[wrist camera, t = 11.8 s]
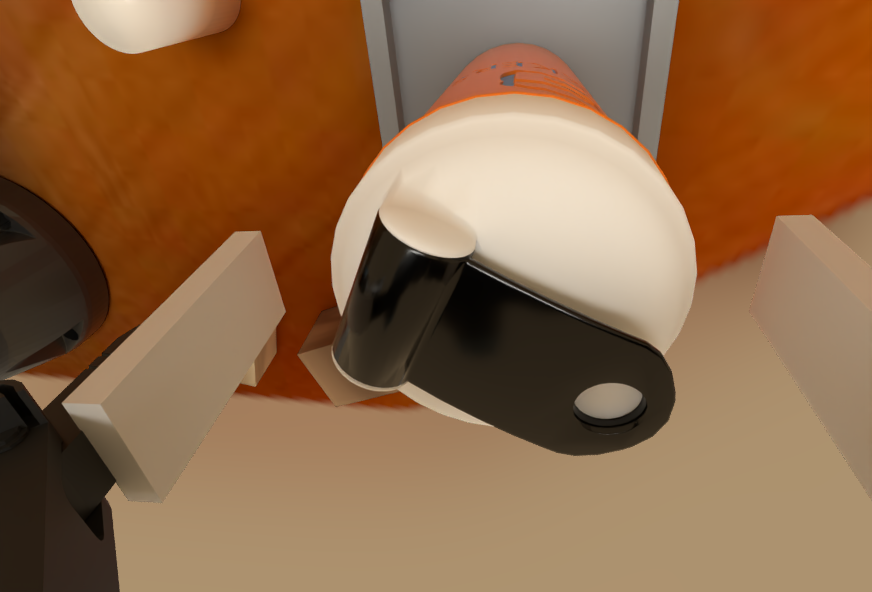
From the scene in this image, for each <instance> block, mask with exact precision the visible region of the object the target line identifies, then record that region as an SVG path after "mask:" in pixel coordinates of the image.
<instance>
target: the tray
mask: <svg viewBox="0 0 872 592" xmlns="http://www.w3.org/2000/svg"><path fill="white" fill-rule="evenodd" d="M360 1H361V8H362V14H363V21H364V28H365V34H366V41H367V47H368V54H369V60H370V67H371V74H372V80H373V87H374V93H375V100H376V107H377V113H378V120H379V126H380V133H381V139H382V146H383V147H384V146H385V145H386V144H387V143H388V142H389V141H390V140H392V139H393V138H394V137H395V136H396V135H397V134H398V133H399V132H401V131H402V130H403V129H404V128H405V127H406V126H407V125H408V124H410V123H412V122H413V121H415V120H417V119H419V118H421V117H422V116H424V114H425V113H426V112H427V111H428V110H429V109H430V108H431V106H432V105H433V104H434V103H435V102H436V101H437V99H438V98H439V97H440V96H441V95H442V94H443V93H444V91H445V90H446V89H447V88H448V87H449V86H450V84H451V83H452V82H453V81H454V80H455V79H456V78H457V76H458V75H459V74H460V73H461V72H462V71H463V69H464V68H465V67H466V66H467V65H468V64H469V63H470V62H472V61H473V60H474V59H475V58H476V57H477V56H479V55H481V54H482V53H484V52H486V51H487V50H489V49H492V48H495V47H498V46H500V45H503V44H512V43H525V44H533V45H536V46H539V47H542V48H545V49H547V50H549V51H550V52H552V53H554V54H555V55H557V56H558V57H559V58H560V59H561V60H562V61H564V62H565V63H566V64H567V65H568V66H569V68H570V69H571V70H572V72H573V73H574V74H575V75H576V77H577V78H578V79H579V81H580V82H581V83H582V84H583V86H584V87H585V88H586V90H587V91H588V92H589V93H590V95H591V96H592V97H593V99H594V100H595V101H596V102H597V104H598V105H599V106H600V108H601V109H602V110H603V111H604V113H605V114H606V115H607V116H608V118H610V119H612V120H613V121H615V122H617V123H618V124H620V125H622V126H623V127H624V128H625V129H626V130H627V131H628V132H630V133H631V134H632V135H633V136H634V137H635V138H636V139H637V140H638V141H639V142H640V143H641V144H642V145H643V146H644V147H645V148H646V149H648V150H649V152H650V153H651V155H652V156H653V158H654V159H655V161H656V157H657V150H658V143H659V136H660V129H661V122H662V115H663V108H664V101H665V94H666V87H667V80H668V73H669V66H670V59H671V52H672V45H673V38H674V31H675V24H676V17H677V10H678V3H679V0H360Z"/></svg>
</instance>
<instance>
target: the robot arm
mask: <svg viewBox="0 0 872 592" xmlns="http://www.w3.org/2000/svg"><path fill="white" fill-rule="evenodd" d="M108 305H109V297H108V289H107V285H106V281H105V278H104V275H103V273H102V270H101V268H100V266H99V264H98V262H97V260H96V258H95V256H94V255H93V253H92V252H91V250H90V249H89V247H88V246H87V244H86V243H85V242H84V240H83V239H82V238H81V237H80V235H79V234H78V233H77V232H76V231H75V230H74V228H73V227H72V226H71V225H70V224H69V223H68V222H67V221H66V220H65V219H64V218H63V217H62V216H60V215H59V214H58V213H57V212H56V211H55V210H54V209H52V208H51V207H50V206H49V205H47V204H46V203H45V202H43V201H42V200H40V199H39V198H38V197H36V196H35V195H33V194H32V193H30V192H28V191H27V190H25V189H23V188H22V187H20V186H18V185H16V184H14V183H12V182H10V181H8V180H6V179H3V178H1V177H0V592H120V591H119V581H118V570H117V560H116V550H115V540H114V530H113V520H112V510H111V507H110V505H109V503H108V501H107V500H106V498H105V495H106V494H107V493H108V491H109V490H110V489H111V487H112V486H113V485H114V484H115V482H116V483H117V485H118V486H119V488H120V489H121V491H122V492H123V493H124V495H125V496H126V498H127V499H128V501H139V502H154V503H163V501H164V500H165V498H166V497H167V495H168V494H169V492H170V491H171V489H172V487H173V486H174V484H175V483H176V481H177V480H178V478H179V477H180V475H181V473H182V472H183V470H184V469H185V467H186V466H187V464H188V463H189V461H190V459H191V458H192V457H193V454H194V453H195V452H196V450H197V449H198V447H199V446H200V444H201V443H202V441H203V439H204V438H205V436H206V435H207V433H208V432H209V430H210V429H211V427H212V426H213V424H214V422H215V421H216V419H217V418H218V416H219V415H220V413H221V412H222V410H223V409H224V407H225V405H226V404H227V402H228V401H229V399H230V398H231V396H232V395H233V393H234V391H235V390H236V388H237V387H238V385H239V384H240V382H241V381H242V379H243V378H244V376H245V374H246V373H247V371H248V370H249V368H250V367H251V365H252V364H253V362H254V360H255V359H256V357H257V356H258V354H259V353H260V351H261V350H262V348H263V347H264V345H265V343H266V342H267V340H268V339H269V337H270V336H271V334H272V333H273V331H274V330H275V328H276V326H277V325H278V323H279V322H280V320H281V319H282V317H283V316H284V314H285V312H286V311H285V308H284V304H283V301H282V298H281V295H280V291H279V288H278V285H277V282H276V279H275V275H274V272H273V269H272V266H271V263H270V259H269V256H268V253H267V250H266V247H265V243H264V240H263V237H262V234H261V231H244V232H235V233H234V234H232V235H231V236H230V237H229V238H228V239H227V240H226V241H225V242H224V243H223V244H222V245H221V246H220V247H219V248H218V249H217V250H216V251H215V252H214V253H213V254H212V255H211V256H210V257H209V258H208V259H207V260H206V261H205V262H204V263H203V264H202V265H201V266H200V267H199V268H198V269H197V270H196V271H195V272H194V273H193V274H192V275H191V276H190V277H189V278H188V279H187V280H186V281H185V282H184V283H183V284H182V285H181V286H180V287H179V288H178V289H177V290H176V291H175V292H174V293H173V294H172V295H171V296H170V297H169V298H168V299H167V300H166V301H165V302H164V303H163V304H162V305H160V306H159V307H158V308H157V309H156V310H155V311H154V312H153V313H152V314H151V315H150V316H149V317H148V318H147V319H146V320H145V321H144V322H143V323H142V324H141V325H138V326H136V327H135V328H133V329H132V330H130V331H128V332H127V333H125V334H123V335H122V336H120V337H119V338H117V339H116V340H115V341H114V342H113V343H112V344H111V345H110V346H109V347H108V348H107V349H106V350H105V351H104V352H103V353H102V356H99V357H98V358H96V359H95V360H94V361H93V362H92V363H91V364H90V365H89V369H85V370H84V371H83V372H82V373H81V374H80V375H79V376H78V377H77V378H76V379H75V380H74V381H73V382H72V383H70V385H69V386H67V387H66V388H65V389H64V390H63V391H62V392H61V393H60V394H59V395H58V396H57V397H56V398H55V399H54V400H53V401H52V402H51V403H50V404H49V405H48V406H47V407H46V408H45V409H43V410H41V408H40V407H39V406H38V404H37V403H36V402H35V400H34V399H33V397H32V396H31V395H30V393H29V392H28V390H27V389H26V388H25V386H24V385H23V384H22V382H19V381H16V380H5V379H7V378H10V377H12V376H14V375H17V374H19V373H21V372H24V371H26V370H28V369H31V368H33V367H36V366H38V365H40V364H43V363H45V362H47V361H50V360H52V359H54V358H57V357H59V356H62V355H64V354H66V353H68V352H70V351H72V350H73V349H75V348H77V347H78V346H79V345H81V344H82V343H83V342H84V341H85V340H86V339H87V338H89V337H90V336H91V335H92V334H93V333H94V332H95V331H97V330H98V329H99V327H100V326H101V325H102V324H103V322H104V320H105V318H106V315H107V312H108ZM749 312H750V314H751V315H752V317H753V318H754V320H755V321H756V323H757V325H758V326H759V328H760V329H761V331H762V332H763V334H764V335H765V337H766V338H767V340H768V342H769V343H770V344H771V346H772V348H773V349H774V351H775V352H776V354H777V355H778V357H779V358H780V360H781V361H782V363H783V365H784V366H785V368H786V369H787V371H788V372H789V374H790V375H791V377H792V379H793V380H794V382H795V383H796V385H797V386H798V388H799V389H800V390H801V392H802V394H803V395H804V397H805V399H806V400H807V402H808V403H809V405H810V406H811V408H812V409H813V411H814V412H815V414H816V416H817V417H818V419H819V420H820V422H821V423H822V425H823V426H824V428H825V429H826V431H827V432H828V434H829V436H830V437H831V439H832V440H833V442H834V443H835V445H836V446H837V448H838V449H839V451H840V452H841V454H842V456H843V457H844V459H845V460H846V462H847V463H848V465H849V466H850V468H851V469H852V471H853V472H854V474H855V476H856V477H857V479H858V480H859V482H860V483H861V485H862V486H863V488H864V489H865V491H866V493H867V494H868V496H869V497H870V499H871V500H872V267H871V266H869V265H868V264H867V263H866V262H865V261H864V260H863V259H862V258H860V257H859V256H858V255H857V254H856V253H855V252H854V251H853V250H851V249H850V248H849V247H848V246H847V245H846V244H845V243H843V242H842V241H841V240H840V239H839V238H838V237H837V236H835V235H834V234H833V233H832V232H831V231H830V230H829V229H828V228H827V227H825V226H824V225H823V224H822V223H821V222H820V221H819V220H817V219H816V218H815V217H814V216H813V215H797V216H777V217H776V220H775V224H774V227H773V230H772V234H771V237H770V241H769V244H768V248H767V251H766V254H765V258H764V261H763V265H762V268H761V271H760V275H759V278H758V282H757V285H756V289H755V292H754V296H753V299H752V302H751V306H750V309H749Z"/></svg>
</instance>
